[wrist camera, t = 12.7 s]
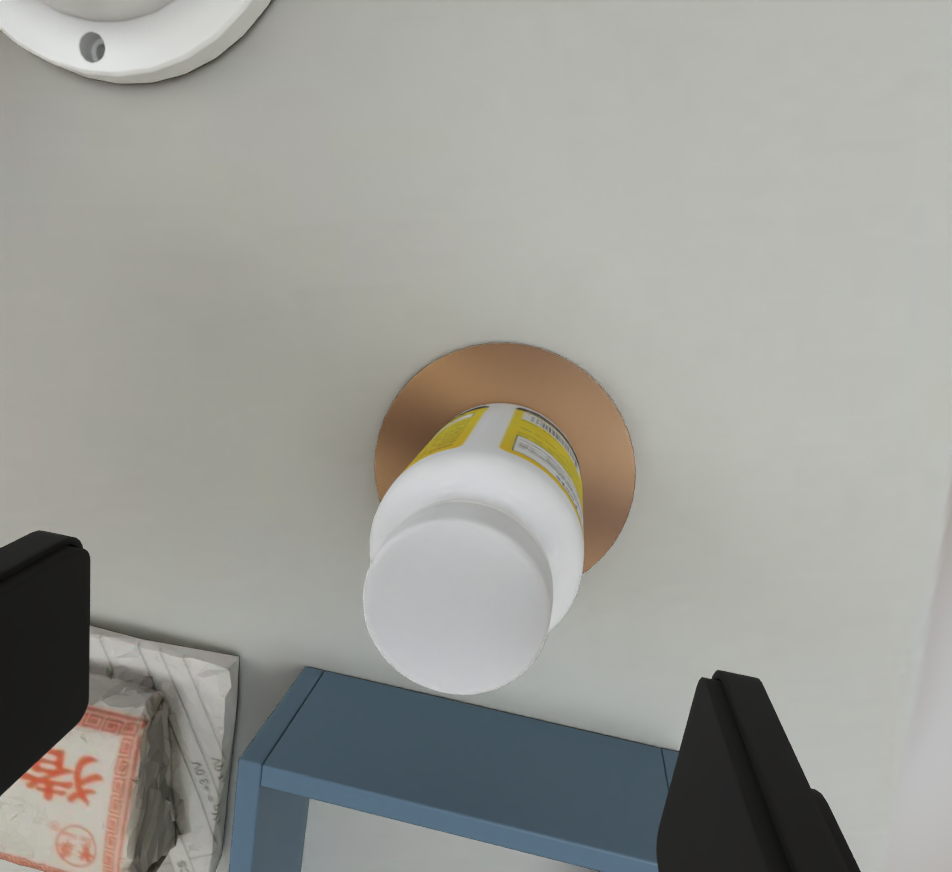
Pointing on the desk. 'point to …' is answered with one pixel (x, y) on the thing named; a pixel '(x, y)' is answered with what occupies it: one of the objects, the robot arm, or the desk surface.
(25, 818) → the packaged product
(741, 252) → the desk surface
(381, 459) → the coaster
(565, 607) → the supplement bottle
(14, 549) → the robot arm
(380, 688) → the open box
